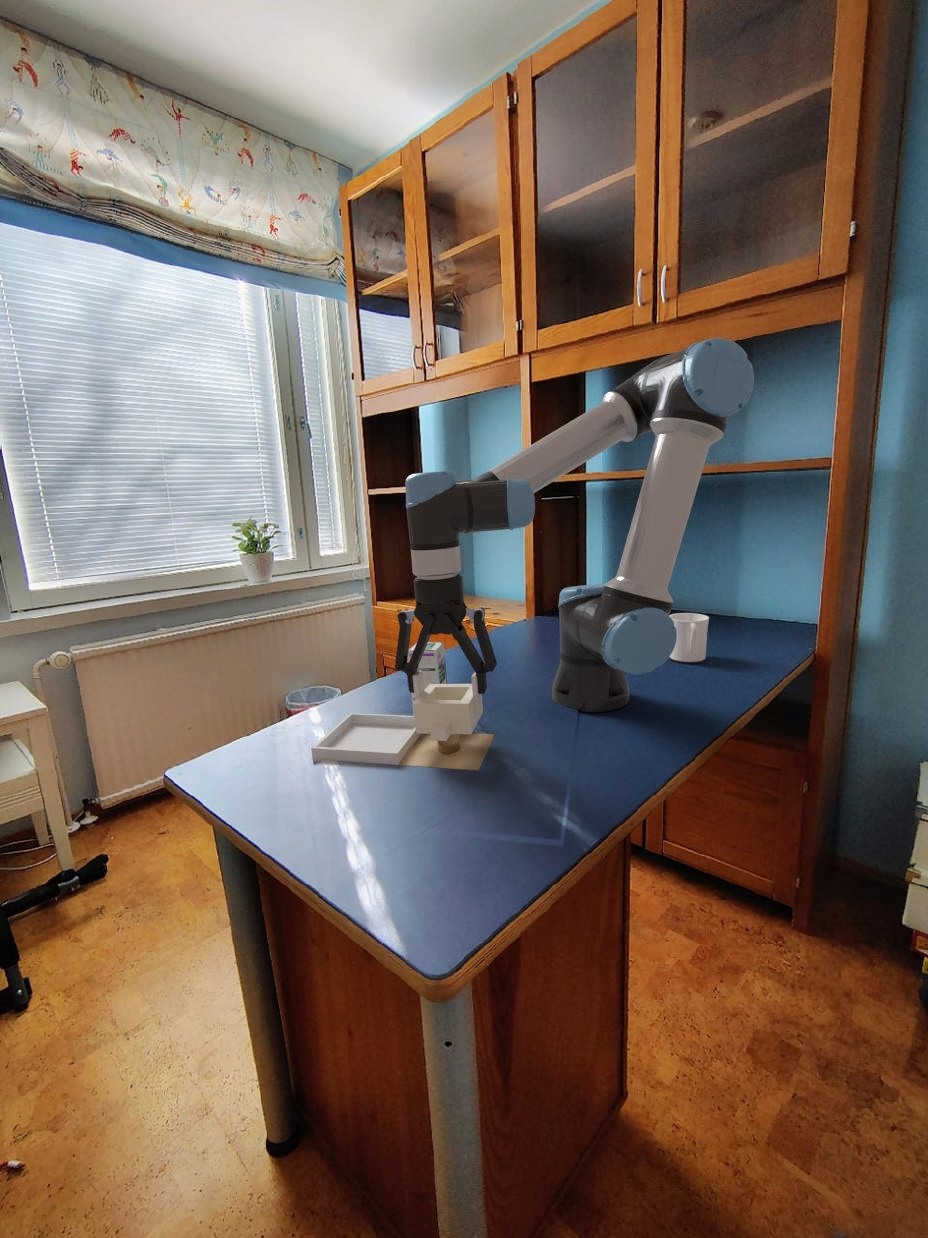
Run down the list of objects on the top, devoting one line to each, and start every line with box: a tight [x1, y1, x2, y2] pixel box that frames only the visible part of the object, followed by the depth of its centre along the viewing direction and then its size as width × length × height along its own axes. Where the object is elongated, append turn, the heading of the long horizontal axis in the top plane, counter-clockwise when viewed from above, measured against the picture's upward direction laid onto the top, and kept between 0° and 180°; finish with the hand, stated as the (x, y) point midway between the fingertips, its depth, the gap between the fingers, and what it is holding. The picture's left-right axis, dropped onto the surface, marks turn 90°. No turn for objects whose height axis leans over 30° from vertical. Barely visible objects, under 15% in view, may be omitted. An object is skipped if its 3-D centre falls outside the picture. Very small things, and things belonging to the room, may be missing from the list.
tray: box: [311, 712, 422, 766], centre depth 99 cm, size 15×15×2 cm
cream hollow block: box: [412, 683, 484, 741], centre depth 92 cm, size 9×12×5 cm
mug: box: [668, 612, 710, 665], centre depth 134 cm, size 11×9×10 cm
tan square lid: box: [398, 732, 496, 771], centre depth 95 cm, size 13×13×4 cm
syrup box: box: [407, 641, 448, 716], centre depth 108 cm, size 6×6×14 cm
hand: (449, 711), depth 94 cm, fingers closed on cream hollow block, 9 cm apart
